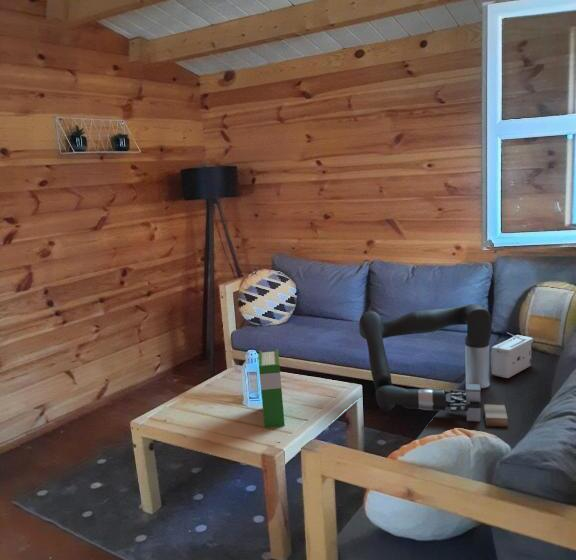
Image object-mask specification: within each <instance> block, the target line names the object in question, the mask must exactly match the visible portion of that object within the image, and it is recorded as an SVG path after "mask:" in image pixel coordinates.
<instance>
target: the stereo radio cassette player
mask: <svg viewBox="0 0 576 560" xmlns="http://www.w3.org/2000/svg"><path fill="white" fill-rule="evenodd" d="M506 334H508V335H510V336H512V337H510V338H508V339H507V340H504V341H502V342H500V343H498V344H495V345H493V346H492V347H491V353H490V354H491V356H490V360H491V361H490V363H491V364H490V365H491V374H492V375H494V376H495V377H501V378H504V379H507V378H508V379H509V378H511V377H513V376H515V375H517V374H518V373H520V372H522V371H524V370H527V368H529V367H531V365H532V343H534V338H533V337H530V336H525V335H520V334H516V335H514V334H512V333H509V332H508V331H507V332H506Z"/></svg>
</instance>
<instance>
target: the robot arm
mask: <svg viewBox="0 0 576 560" xmlns="http://www.w3.org/2000/svg"><path fill="white" fill-rule="evenodd" d="M358 324H359V325H358V327H359V328H358V329H359V335H360V336H361V337H362V339H365V340H366V345H367V349H368V359H369V367H370V371H371V372H370V373H371V378H372V381H373V384H374V387H375V398H376V402H377V405H378V406H379V407H380V408H381V409H382V410H384V411H391V410H393V408H395V406H396V405H401V406H403V407H404V408H405V409H413V410H414V409H415V410H417V409H418V410H424V411H442V412H443V411H446V410H447V409H446V408H450V412H466V411H468V409H470V408H480V409H482V402H481V401H480V402H474V401H470V402H469V401H466V390H463V389H461V390H460V389H450V390H449V393H446V390H445V389H443V388H442V389H441V388H420V389H419V388H403V387H399V386H395V385H393V383H392V382H393V381H392V374H391V369H390V365H389V361H388V357H387V353H386V350H385V349H386V348H385V346H384V339H387V338H391V337H397V336H407V335H408V336H409V335H417V334H428V333H429V334H430V333H434V332H437V331H440V330H443V329H445V328H447V327H451V326H458V325H459V326H461V325H462V326H463V325H464V326H466V327H467V328H466V329H467V330H466V333H467V334H466V337H465V338H464V346H465V347H464V350H465V351H464V353H465V356H464V357H465V385H466V384H480V389H486V388H489V386H490V342H491V341H490V340H491V337H492V316H491V313H490V312H489V311H488V309H486V308H485V307H484V306H483V305H481V304H478V303H469V304H464V305H459V306H456V307H450V308H449V307H448V308H447V307H446V308H433V309H420V310H413V311H411V312H408V313H406V314H403V315H402V316H400V317H397V318H394V319H390V320H389V319H388V320H382V317H381V315H380V314H379V313H377V312H375V311H365V312H364V313H363V314H362V315H361V316H360V318H359V323H358Z"/></svg>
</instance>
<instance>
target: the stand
mask: <svg viewBox="0 0 576 560" xmlns="http://www.w3.org/2000/svg"><path fill="white" fill-rule="evenodd" d="M483 410H484V411H483V412H484V413H483V414H484V420H485V426H486V427H488V426H489V427H504V428H505V427H508V424H509V423H508V421H509V420H508V415H507V409H506V406H505V404H489V403H486V404H485V403H484V404H483Z"/></svg>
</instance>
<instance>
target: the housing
mask: <svg viewBox="0 0 576 560" xmlns="http://www.w3.org/2000/svg"><path fill="white" fill-rule="evenodd" d="M465 391H466V401H469V402H470V401H474V402H481V388H480V384H466V383H465ZM465 414H466V421H467V422H481V419H482V418H481V408H470V409H468V411H465Z"/></svg>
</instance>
